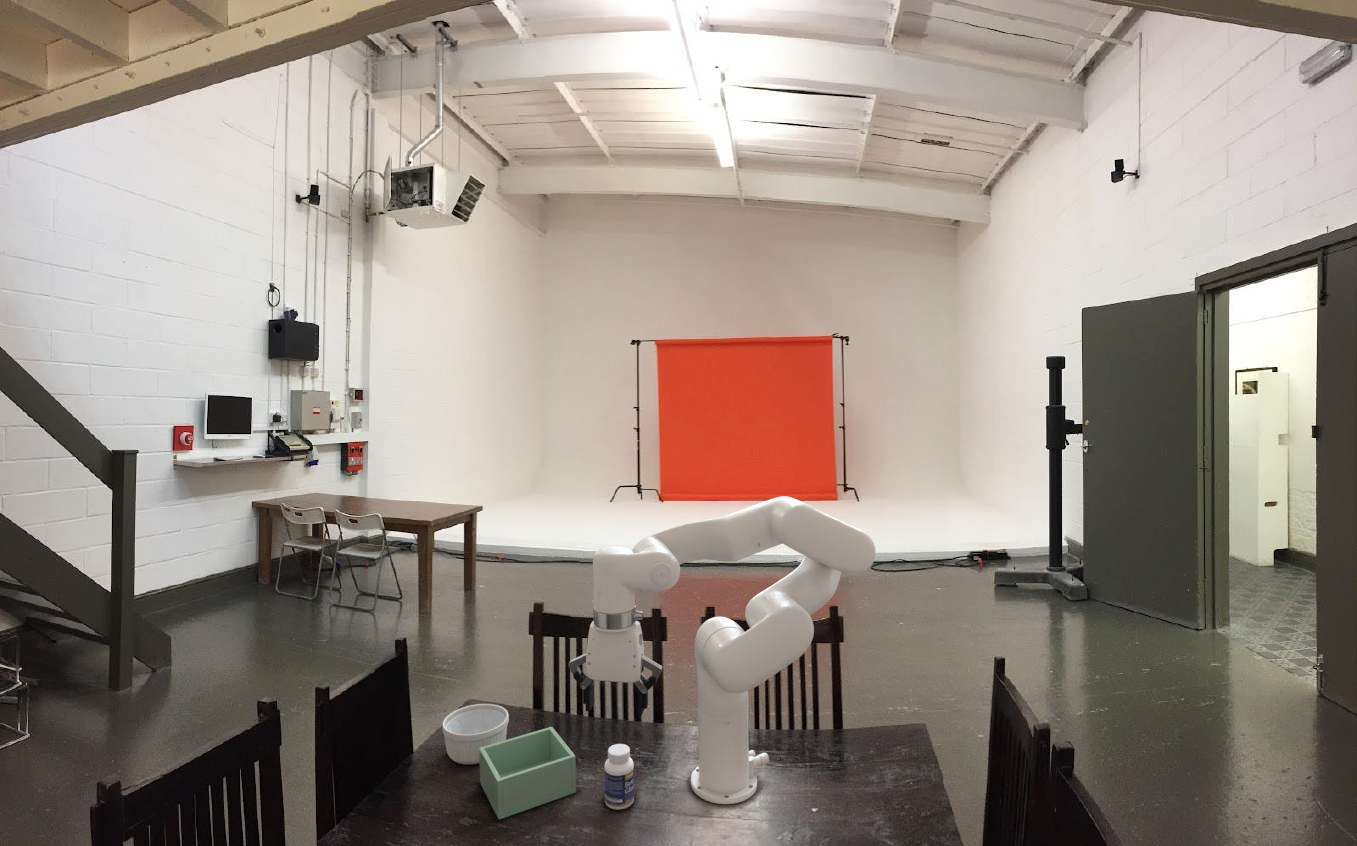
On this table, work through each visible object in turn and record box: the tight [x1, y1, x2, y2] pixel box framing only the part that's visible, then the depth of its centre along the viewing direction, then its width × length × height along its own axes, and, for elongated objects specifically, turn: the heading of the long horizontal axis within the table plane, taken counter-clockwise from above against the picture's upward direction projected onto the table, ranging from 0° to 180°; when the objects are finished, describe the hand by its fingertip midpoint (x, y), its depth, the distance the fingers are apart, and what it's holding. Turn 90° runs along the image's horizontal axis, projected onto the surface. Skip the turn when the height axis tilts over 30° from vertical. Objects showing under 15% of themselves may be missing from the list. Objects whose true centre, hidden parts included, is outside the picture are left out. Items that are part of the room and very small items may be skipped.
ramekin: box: [441, 703, 510, 766], centre depth 136 cm, size 13×13×7 cm
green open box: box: [479, 726, 577, 820], centre depth 123 cm, size 15×13×7 cm
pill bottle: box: [603, 743, 635, 810], centre depth 119 cm, size 5×5×10 cm
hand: (615, 709), depth 118 cm, fingers open, 9 cm apart
